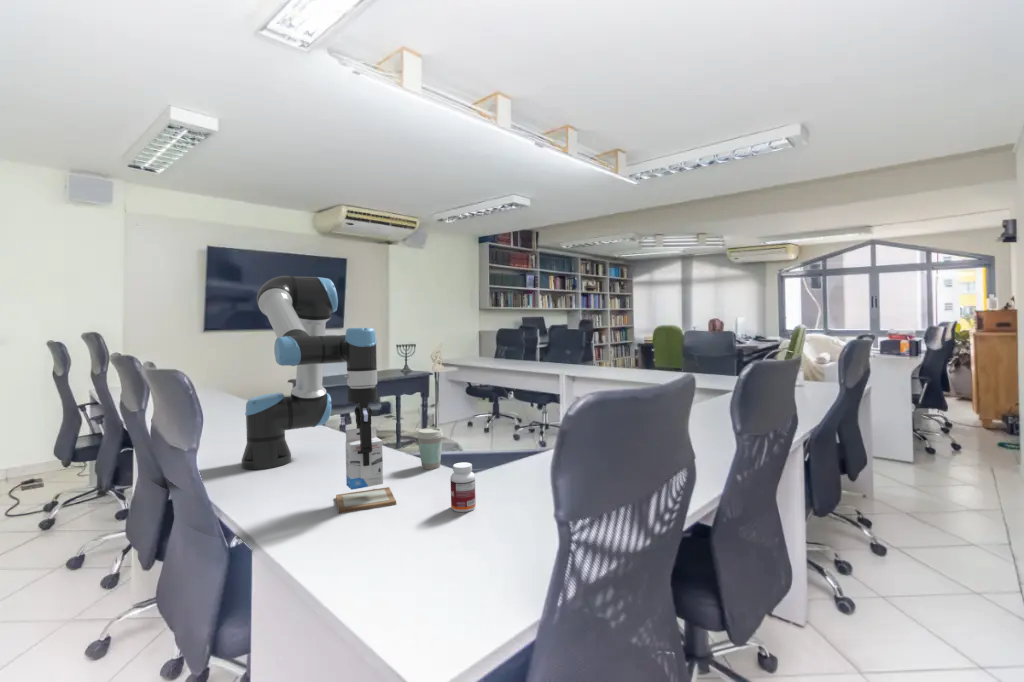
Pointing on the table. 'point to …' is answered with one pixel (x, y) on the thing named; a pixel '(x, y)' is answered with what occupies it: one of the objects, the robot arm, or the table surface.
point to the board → (365, 500)
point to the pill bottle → (463, 488)
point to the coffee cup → (430, 447)
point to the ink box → (354, 460)
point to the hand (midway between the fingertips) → (364, 474)
